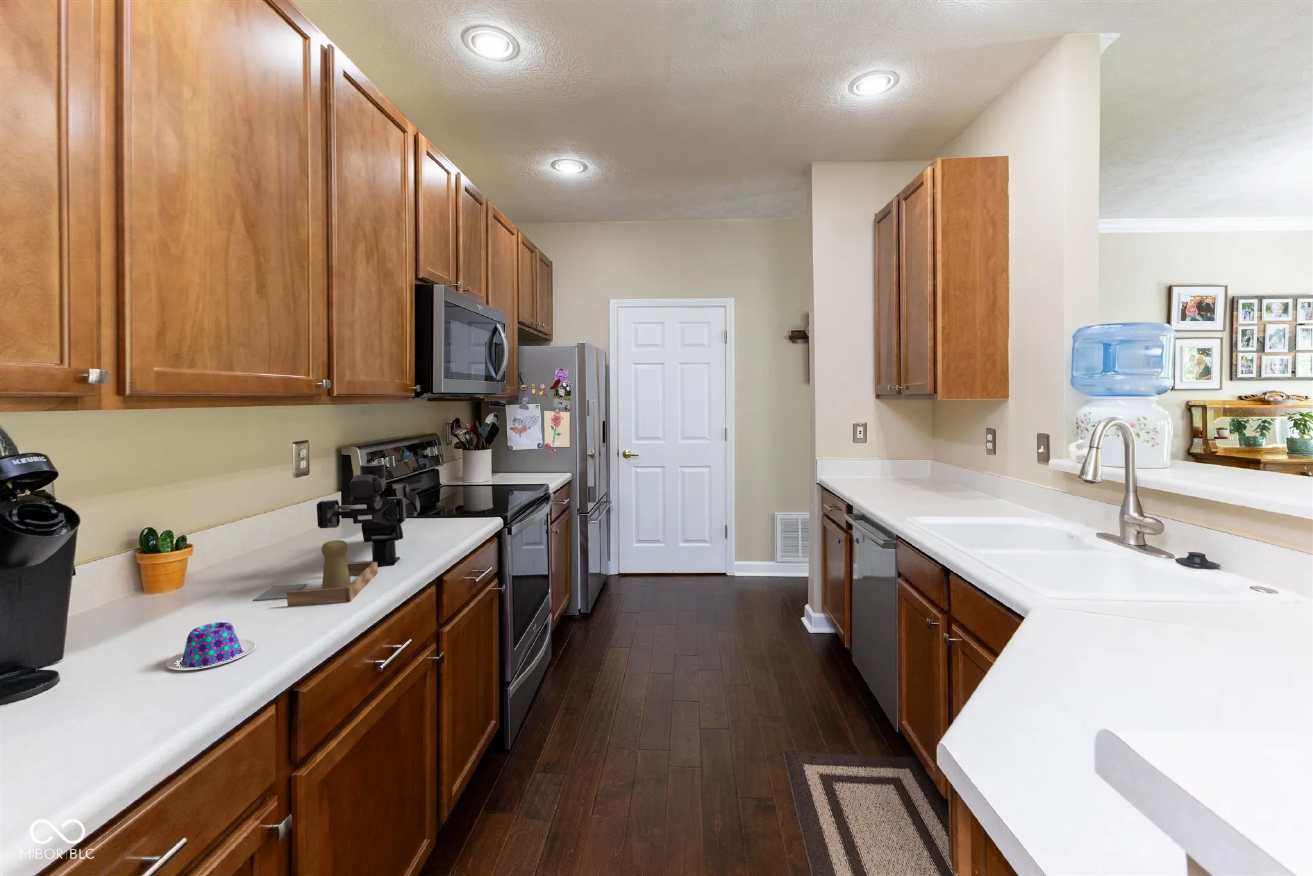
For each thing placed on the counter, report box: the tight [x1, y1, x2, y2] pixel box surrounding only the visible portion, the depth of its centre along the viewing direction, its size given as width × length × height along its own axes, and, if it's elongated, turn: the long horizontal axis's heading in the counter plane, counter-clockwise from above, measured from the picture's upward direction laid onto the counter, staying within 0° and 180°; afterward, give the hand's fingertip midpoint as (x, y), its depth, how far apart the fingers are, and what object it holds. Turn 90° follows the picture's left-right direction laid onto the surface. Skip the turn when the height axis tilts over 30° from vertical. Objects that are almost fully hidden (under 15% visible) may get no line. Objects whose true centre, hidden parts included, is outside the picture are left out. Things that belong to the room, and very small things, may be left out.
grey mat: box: [252, 583, 308, 602], centre depth 132 cm, size 10×7×1 cm
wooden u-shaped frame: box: [286, 561, 379, 607], centre depth 134 cm, size 22×12×3 cm, turn 11°
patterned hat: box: [165, 621, 257, 671], centre depth 98 cm, size 12×12×5 cm
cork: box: [321, 539, 352, 589], centre depth 134 cm, size 6×6×11 cm
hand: (350, 519), depth 130 cm, fingers open, 9 cm apart
